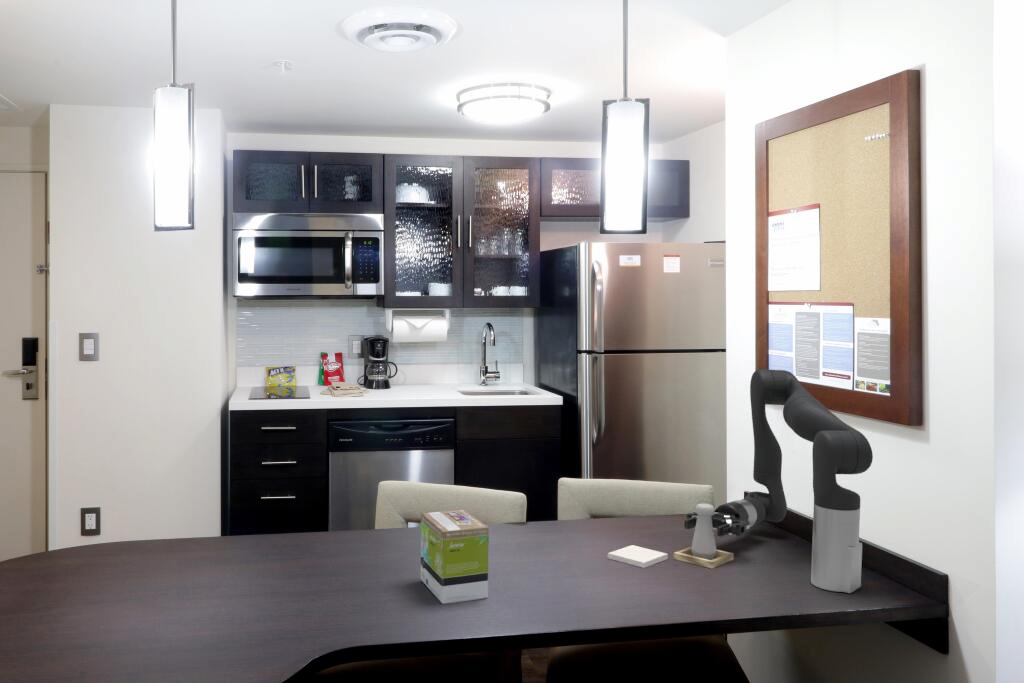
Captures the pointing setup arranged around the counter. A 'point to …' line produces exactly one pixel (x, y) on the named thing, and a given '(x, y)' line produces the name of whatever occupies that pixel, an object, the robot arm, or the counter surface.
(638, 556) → the coaster
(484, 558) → the tea box
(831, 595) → the counter surface
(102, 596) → the counter surface
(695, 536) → the salt shaker
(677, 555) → the frame
